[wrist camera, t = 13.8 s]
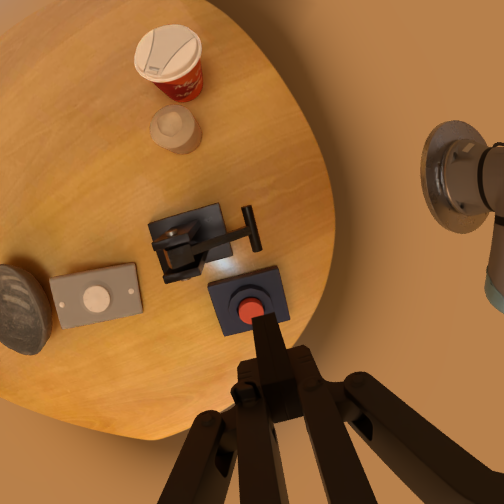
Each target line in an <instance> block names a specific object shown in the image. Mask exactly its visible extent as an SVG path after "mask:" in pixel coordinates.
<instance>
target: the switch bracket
mask: <svg viewBox="0 0 504 504" xmlns="http://www.w3.org/2000/svg"><path fill="white" fill-rule="evenodd" d="M148 227H149V230H150V234H151V237H152V240H153V242H152V247H153V250H154V251H156V252H157V255H158V258H159V261H160V264H161V267H162V270H163V273H164V275H163V279H164V282H165V284H168V283H172V282H176V281H180V280H181V281H186V280H189V279H190V278H192V277H195V276H199V275H201V273H202V270H203V267H204V264H205V263H208V262H211V261H215V260H219V259H223V258H226V257H230V256H233V252H232V248H231V245H230V242H229V243H226V244H223V245H220V246H218V247H215V248H212V249H210V250H207V251H204V252H201V253H199V254H196V255H193V256H194V260H195V261H194V262H192V263H189V264H187V265H184V266H181V267H179V268H176V269H171V268H170V267H169V266H168V263H167V260H166V257H165V254H164V250H163V249H165V248H168V247H171V246H175V245H178V244H182V243H186V242H187V243H189V244H190V245H193V244H195V243H198V242H201V241H204V240H207V239H209V238H212V237H215V236H218V235H221V234H224V233H227V231H226V227H225V223H224V220H223V216H222V212H221V209H220V205H219V203H215V204H212V205H208V206H205V207H201V208H198V209H194V210H191V211H187V212H184V213H181V214H177V215H174V216H171V217H167V218H164V219H161V220H158V221H154V222H151V223H149V224H148Z"/></svg>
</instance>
